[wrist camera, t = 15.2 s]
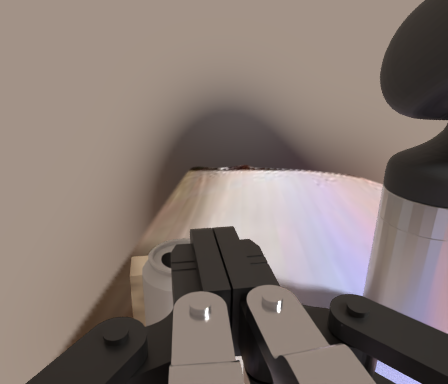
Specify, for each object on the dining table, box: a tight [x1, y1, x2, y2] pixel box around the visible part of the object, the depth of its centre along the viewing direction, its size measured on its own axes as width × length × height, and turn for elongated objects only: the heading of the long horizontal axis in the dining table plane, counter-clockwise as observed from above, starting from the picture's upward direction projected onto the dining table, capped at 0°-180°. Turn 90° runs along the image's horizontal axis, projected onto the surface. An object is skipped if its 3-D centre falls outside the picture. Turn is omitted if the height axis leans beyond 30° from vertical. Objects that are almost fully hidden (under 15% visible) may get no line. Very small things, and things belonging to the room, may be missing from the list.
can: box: [142, 238, 190, 326], centre depth 36 cm, size 8×8×12 cm
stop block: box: [130, 256, 148, 327], centre depth 43 cm, size 10×4×7 cm, turn 100°
